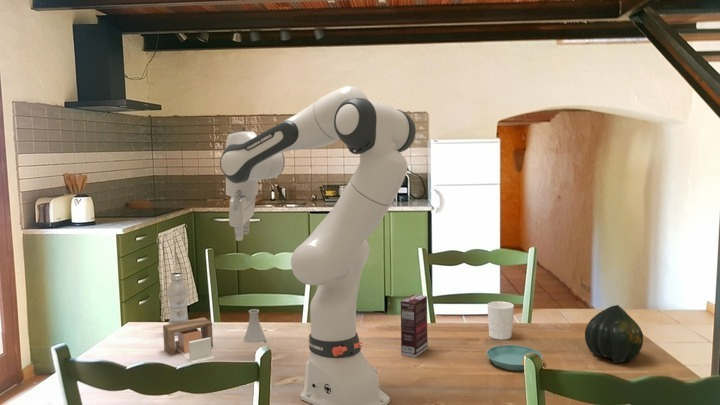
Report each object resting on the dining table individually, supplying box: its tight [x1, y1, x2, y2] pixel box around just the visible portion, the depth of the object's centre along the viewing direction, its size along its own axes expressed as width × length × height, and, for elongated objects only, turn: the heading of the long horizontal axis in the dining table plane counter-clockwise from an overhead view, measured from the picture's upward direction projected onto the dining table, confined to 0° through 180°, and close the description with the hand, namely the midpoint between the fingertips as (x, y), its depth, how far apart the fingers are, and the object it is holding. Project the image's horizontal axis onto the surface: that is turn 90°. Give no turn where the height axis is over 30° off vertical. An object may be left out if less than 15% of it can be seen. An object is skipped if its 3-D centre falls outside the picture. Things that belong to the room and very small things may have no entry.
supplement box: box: [400, 294, 429, 358], centre depth 174 cm, size 9×5×16 cm, turn 149°
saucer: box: [486, 344, 543, 371], centre depth 165 cm, size 15×15×3 cm
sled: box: [175, 337, 216, 363], centre depth 173 cm, size 15×6×6 cm, turn 36°
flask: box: [243, 308, 267, 344], centre depth 184 cm, size 7×7×10 cm
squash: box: [584, 304, 644, 364], centre depth 168 cm, size 14×15×15 cm
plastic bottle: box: [166, 271, 189, 336], centre depth 191 cm, size 6×7×20 cm
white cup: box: [487, 300, 515, 340], centre depth 187 cm, size 8×8×10 cm
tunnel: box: [162, 317, 214, 357], centre depth 176 cm, size 6×12×8 cm, turn 126°
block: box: [177, 328, 201, 353], centre depth 176 cm, size 5×5×6 cm
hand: (242, 236), depth 172 cm, fingers open, 8 cm apart
